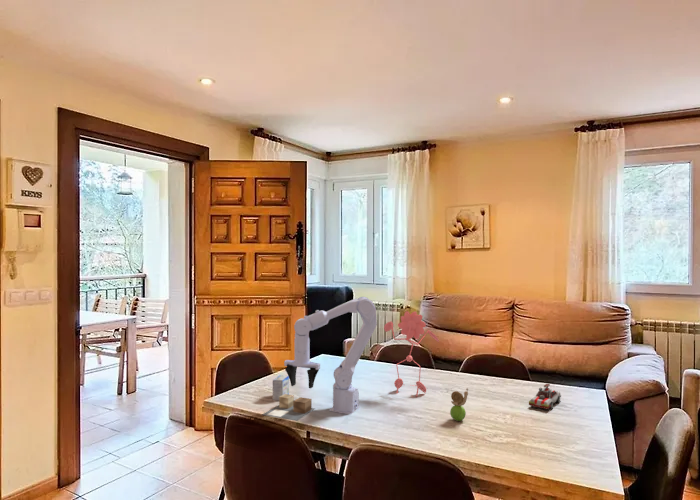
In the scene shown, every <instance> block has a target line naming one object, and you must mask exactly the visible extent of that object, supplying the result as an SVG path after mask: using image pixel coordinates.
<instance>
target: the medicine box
mask: <svg viewBox="0 0 700 500" xmlns="http://www.w3.org/2000/svg"><path fill="white" fill-rule="evenodd" d="M284 394H288V395H290V379H289V376H288V374H287V375H285V374H280V375H278V376H277V377H275V378H274V379H272V401H278V402H279V397H280V396H282V395H284Z"/></svg>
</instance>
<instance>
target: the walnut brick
mask: <svg viewBox="0 0 700 500" xmlns="http://www.w3.org/2000/svg"><path fill="white" fill-rule="evenodd" d="M311 408H313V407H312V398H307V397H300V396H299V397H298V398H296V399H295V400H294V401H293V412H298V413H304V414H305V413H307V412H308V411H310V410H311Z"/></svg>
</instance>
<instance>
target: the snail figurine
mask: <svg viewBox="0 0 700 500" xmlns="http://www.w3.org/2000/svg"><path fill="white" fill-rule="evenodd" d="M468 391H469V388H466V389H465V391H464V392H463V394H462V392H460V391H457V390H454V391H453V392H452V393H451V394H450V395H451V396H450V397H451V402H450V403H451V404H453V406H452V407H451V408H450V411H449V414H450V417H451V418H452V419H453V421H457V422H460V421H463V420H464V419H465V418H466V416H467V415H466V410H465V408H464V405H465V404H466V403H467V399H468V395H469V392H468Z"/></svg>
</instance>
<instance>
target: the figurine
mask: <svg viewBox="0 0 700 500" xmlns="http://www.w3.org/2000/svg"><path fill="white" fill-rule="evenodd" d="M403 314H404V315H400V321H401V322H398V323H397V327H398V328H399V329H400V330H401V331H400V332H401V334H402V335H403V336H405V335H406V336H405V337H404V338H402V337H401V338H396V337H395V333H394V332H395V331H394V322H393V321H392V320H391V321H388V322H387V323H385V324H384V327H383V329H384V331H385V333H387V332H390V331H392V337H393V339H394V341H398V340H403V341H404V340H405V341H407V342H408V343H410V344H411V347H410V351H409V355H407V356H405V357H406V359H404V360H401V361H400V362H398V363H396V371H397V377H398V378H396V379H395V381H394V387H395V388H396V392H395V393H396V394H398V392H399V390H400V389H401V388H402V386H404V380H403V379H402V378H400V376H399V375H400V374H399V369H398V368H399V367H398V365H399V364H401V363H403V362H405V361H407V362H409V363H410V362H414V363H415V364H416V365H417V366H419V373H418V374H419V376H418V380H417V381H416V382H415V384H414V385H412V384H411V386H413V387H417V388H416V394H415V397H417V398H418V394H419V391H421V392H422V393H424V394H426V393H427V389H428V387H426V386H425V384H423V383H422V382H421V369H422V368H421V365H420V364H419V363H417V362H416V361H415V360H414V359H413V356H412V355H411V354H412V352H413V351H412V350H413V347H414V344H415V345H417V346H418V345H419V344H420V343H421V342H422V341H423V339H424V338H425V337H426V336H427V334H429V336H430V338H432V339H434V340H435V341H436V342H438V343H440V339H439V338H438V336H437V334H435V333H433V332H432V331H431V330H429V329H427V331H426V332H425V329H424V328H425V327H427V323H426V322H425V321H423V315H422V314H418V312H417V311H412V312H411V313H410V311H407V310H406V311H405V312H404V313H403ZM421 335H423V336H422V338H421V339H420V336H421ZM413 338H414V339H415V340H419V339H420V340H419V341H418V342H415V341H414V340H411V339H413Z"/></svg>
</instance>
